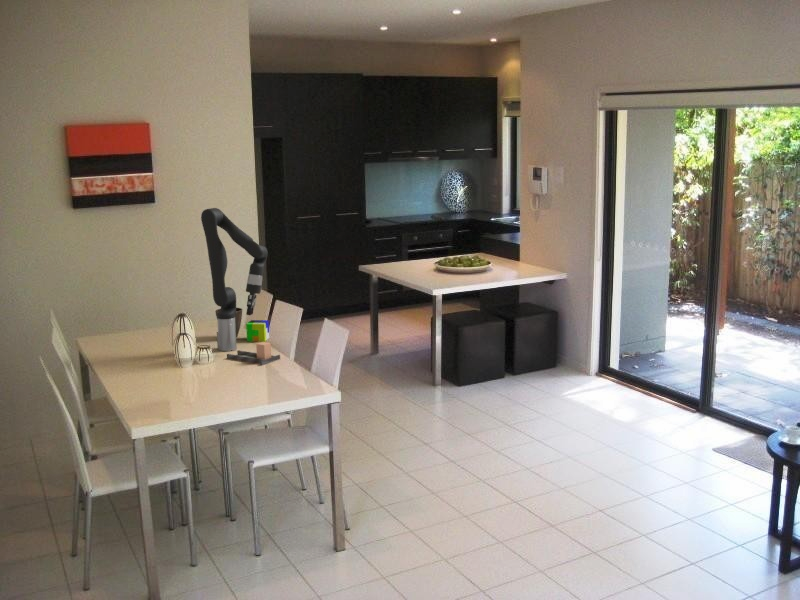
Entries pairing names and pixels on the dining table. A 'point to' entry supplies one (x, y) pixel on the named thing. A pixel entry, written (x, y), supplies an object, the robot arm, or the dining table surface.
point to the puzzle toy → (257, 330)
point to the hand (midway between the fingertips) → (249, 314)
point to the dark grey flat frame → (250, 358)
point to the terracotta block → (263, 350)
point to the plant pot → (237, 318)
